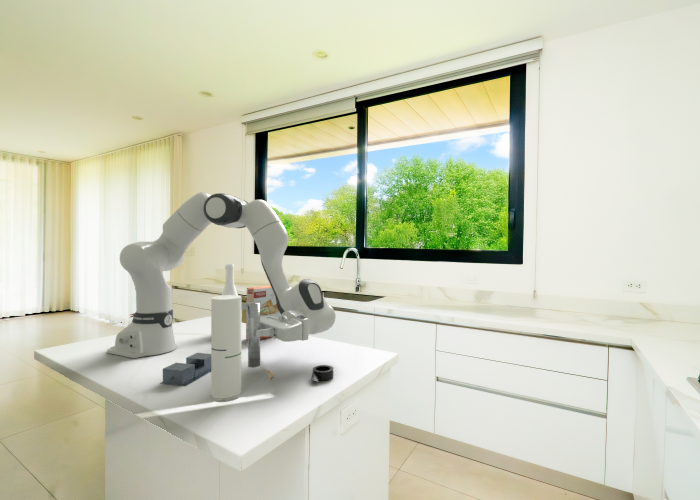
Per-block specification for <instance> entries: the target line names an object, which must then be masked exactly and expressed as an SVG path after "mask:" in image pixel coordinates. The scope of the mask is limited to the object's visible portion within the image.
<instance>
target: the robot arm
mask: <svg viewBox="0 0 700 500" xmlns="http://www.w3.org/2000/svg"><path fill="white" fill-rule="evenodd" d="M211 224H213V225H217V226H221V227H223V228H228V229H229V228H230V229H232V228H234V229H243V228H246V229H247V230H248V231H249V233H250V235H251V237H252V238H253V240H254V243H255V244H256V246H257V249H258V253H259V256H260V261H261V265H262V266H261V267H262V268H263V270H264V271H263V272H264V273H265V276H266V278H267V280H268V283H269V286H271V287H272V290H273V292H274V294H275V297H276V303H277V308H278V310H279V312H280V313H281V316H280V317H279V318H277V317H274V316H263V317H260V329H258V330H255V331H254V336H256V337H261V336H270V337H269V338H273V339H275V340H278V341H281V342H286V343H287V342H295V341H307V340H309V335H316V334H319V333H324V332H326V331H329V330H330V329H331V328H332V327H333V325H334V324H335V322H336V311H335V310H334V308H333V307H332V305H330V304H328V302H327V301H326V299H325V297H324V295H323V292H322V288H321V286H320V285H319V283H317V282H316V281H315V280H312V279H310V278H303V279H302V280H301V281H299V282H297V283H296V284H295V285H293V287H292V286H290V283H289V280H288V279H287V275H286V274H285V272H284V269H283V258H284V255H285V252H286V250H287V248H288V244H289V238H290V237H289V234H288V231H287V229H286V227H285V225H284V223H283V222H282V221H281V219H280V217H279V215H278V214H277V213H276V211H275V210H274V209H273V207H272V206H271V205H270V204H269V203H268V202H267V201H266V200H263V199H254V200H251V201H249V202H248V201H246V200H245V199H242V198H240V197H237V196H234V195H229V194H226V193H214V194H209V193H207V192H203V191H202V192H198V193H196V194H194V195H193V196H191V197H190V198H188V199H187V200H186V201H185V202H184V203H182V204H181V205H180V206H179V207H178V208H177V210H175V211H174V212H173V213H172V215H170V217H168V219H167V220H166V221H164V223H163V224H162V233H161V235H160V236H159V237H158V238H157V239H156V240H154V241H137V242H133V243H130V244H127V245H125V246H124V247H123V248H122V249H121V251H120V254H119V262H120V265H121V266H122V268H123V269H124V270H125V271H126V272H127V273H128V274H129V276H130V278H131V279H132V282H133V284H134V289H135V302H136V308H135V309H136V311H135V313H130V314H129V318H132V321H131V323H129V324H128V325H127V326H126V327H124V328H123V329H122V330H120V331H119V332H118V333H117V334H116V336H115V339H114V340H115V343H114V345H113V346H111V347H108V349H107V350H106V353H107V354H112V355H117V356H121V357H125V358H126V357H127V358H132V359H135V358H136V359H137V358H142V357H147V356H149V357H150V356H157V355H162V354H166V353H168V352H172V351H174V350H175V349H177V348H178V347H177V343H176V340H175V336H174V335H175V334H174V327H173V321H174V310H173V307H172V306H173V304H172V303H173V302H172V300H173V299H172V295H173V294H172V293H173V292H172V288H171V287H172V286H170V285H169V284H168V283H167V282H166V279H165V275H164V272H168V271H171V270H173V269H175V268H176V269H177V267H179V266H180V265H182V263H183V262H184V257H185V255H184V254H185V253H186V251H187V249H188V248H189V247H190V245H191V244H192V243H193V242H194V241H195V240H196V239H197V238H198V237H199V236H200V235H201V233H203V232H204V231H205V230H206V228H208V226H210V225H211ZM246 333H248V327H246V326H245V334H246Z"/></svg>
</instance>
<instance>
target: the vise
mask: <svg viewBox="0 0 700 500" xmlns="http://www.w3.org/2000/svg"><path fill="white" fill-rule="evenodd" d="M209 373H211V353H206V352H205V353H204V352H203V353H202V352H196V353H194V354H192V355H189V356H188V357H185V363H183V362H175V363H172V364H170V365H168V366H166V367H164V368H162V381H161V382H159V384H162V385H171V386H178V387H179V386H180V387H181V386H182V387H187V386H188V385H191V384H192V383H194V382H195V381H197V380H199V379H200V378H202V377H204V376H206V375H208V374H209Z"/></svg>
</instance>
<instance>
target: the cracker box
mask: <svg viewBox="0 0 700 500" xmlns="http://www.w3.org/2000/svg"><path fill="white" fill-rule="evenodd" d="M250 302H259V303H260V317H263V316H274V317H277V318H279V317H280V316H281V313H280V312H279V310H278V308H277V303H276V297H275V294H274V292H273V290H272V287H271V285H264V286H262V285H261V286H253V287H251V286H250V287H249V286H248V287H246V303H250ZM245 311H246V312H245V313H246V316H245V320H246V322H245V328H246V327H248V310H245ZM245 338H246V339H247V340H248V333H246V332H245ZM269 338H271V337H270V336H261V337H260V340H263V339H269Z"/></svg>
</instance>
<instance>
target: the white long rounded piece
mask: <svg viewBox="0 0 700 500" xmlns="http://www.w3.org/2000/svg"><path fill="white" fill-rule="evenodd" d="M234 264H235V263H225V266H224V267H225V268H224V269H225V282H224V287H223V290H222V293H221V296H222V295H238V296H239V294H238V292H237V288H236V285H235V272H234V271H235V265H234ZM242 311H243V310H241V332H242V327H243V326H242V318H243V317H242V315H243V314H242Z"/></svg>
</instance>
